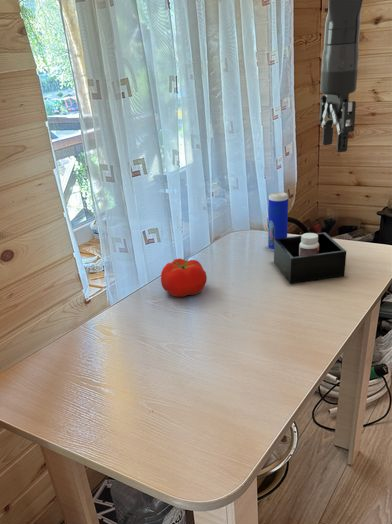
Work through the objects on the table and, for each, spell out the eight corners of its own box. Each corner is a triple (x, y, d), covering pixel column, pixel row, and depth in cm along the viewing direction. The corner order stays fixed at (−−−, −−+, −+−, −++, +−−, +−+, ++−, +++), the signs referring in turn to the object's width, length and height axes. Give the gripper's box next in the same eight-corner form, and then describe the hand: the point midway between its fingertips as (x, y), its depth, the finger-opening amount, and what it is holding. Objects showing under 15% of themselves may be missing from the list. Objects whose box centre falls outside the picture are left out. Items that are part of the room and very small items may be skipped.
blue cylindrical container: (266, 246, 145) (266, 192, 137) (284, 244, 145) (285, 190, 137) (270, 252, 141) (271, 198, 133) (289, 250, 141) (290, 196, 133)
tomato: (212, 297, 121) (210, 268, 116) (166, 305, 119) (162, 275, 115) (201, 279, 129) (199, 251, 125) (159, 286, 128) (155, 258, 124)
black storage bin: (323, 256, 136) (325, 232, 133) (344, 276, 125) (346, 251, 121) (273, 262, 135) (274, 238, 131) (290, 284, 124) (291, 258, 120)
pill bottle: (320, 269, 128) (322, 237, 123) (302, 272, 127) (303, 240, 123) (313, 262, 132) (315, 231, 127) (295, 265, 131) (297, 233, 127)
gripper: (371, 68, 104) (363, 152, 112) (343, 64, 116) (337, 140, 124) (335, 72, 103) (330, 156, 112) (310, 67, 115) (307, 144, 124)
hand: (334, 148), depth 118 cm, fingers open, 8 cm apart
